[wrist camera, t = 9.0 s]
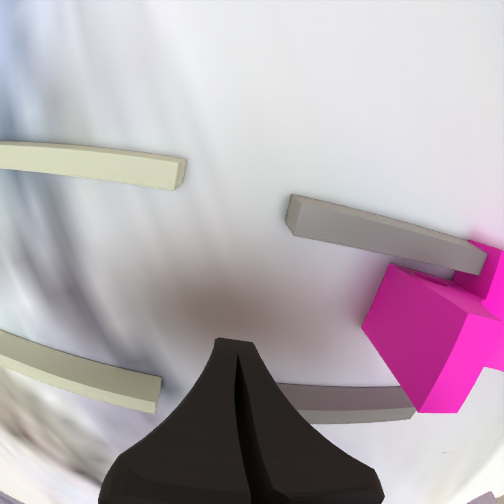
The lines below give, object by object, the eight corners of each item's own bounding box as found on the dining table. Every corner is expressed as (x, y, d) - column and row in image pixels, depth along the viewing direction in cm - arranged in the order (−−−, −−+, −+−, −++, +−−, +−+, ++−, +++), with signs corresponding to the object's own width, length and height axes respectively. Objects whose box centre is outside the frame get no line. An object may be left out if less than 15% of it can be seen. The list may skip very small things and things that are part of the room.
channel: (459, 393, 19) (470, 409, 17) (239, 394, 17) (240, 420, 15) (527, 261, 15) (545, 273, 13) (292, 194, 13) (301, 203, 11)
